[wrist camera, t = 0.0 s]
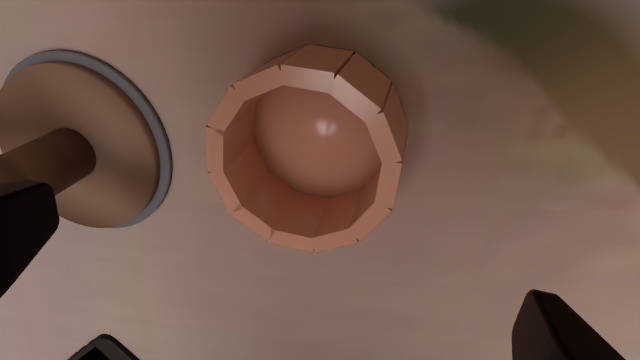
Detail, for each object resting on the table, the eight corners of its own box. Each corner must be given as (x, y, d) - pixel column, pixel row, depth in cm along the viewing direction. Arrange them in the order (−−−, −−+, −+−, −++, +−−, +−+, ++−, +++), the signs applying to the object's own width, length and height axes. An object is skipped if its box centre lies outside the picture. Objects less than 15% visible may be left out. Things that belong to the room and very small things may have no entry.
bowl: (389, 217, 24) (380, 268, 20) (242, 187, 25) (207, 229, 22) (421, 61, 20) (418, 86, 16) (246, 34, 22) (204, 52, 18)
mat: (176, 240, 28) (173, 244, 28) (25, 205, 30) (20, 208, 30) (166, 66, 23) (162, 68, 23) (-15, 36, 25) (-22, 37, 25)
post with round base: (165, 235, 28) (51, 353, 20) (25, 203, 29) (-137, 300, 21) (154, 76, 23) (-2, 142, 15) (-12, 48, 25) (-236, 93, 16)
